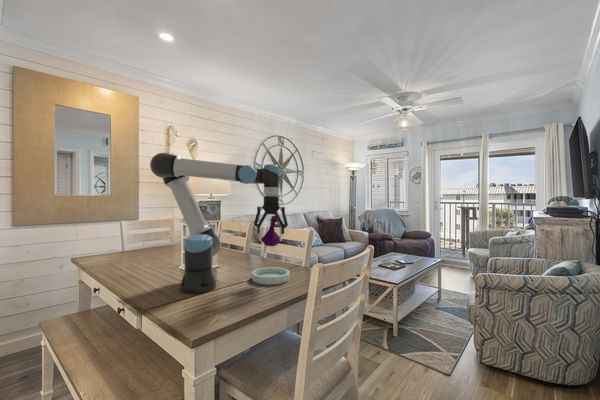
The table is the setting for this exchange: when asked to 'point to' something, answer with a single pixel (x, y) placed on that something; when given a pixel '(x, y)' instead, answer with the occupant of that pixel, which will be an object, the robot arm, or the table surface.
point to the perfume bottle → (271, 234)
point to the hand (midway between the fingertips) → (270, 240)
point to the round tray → (270, 275)
